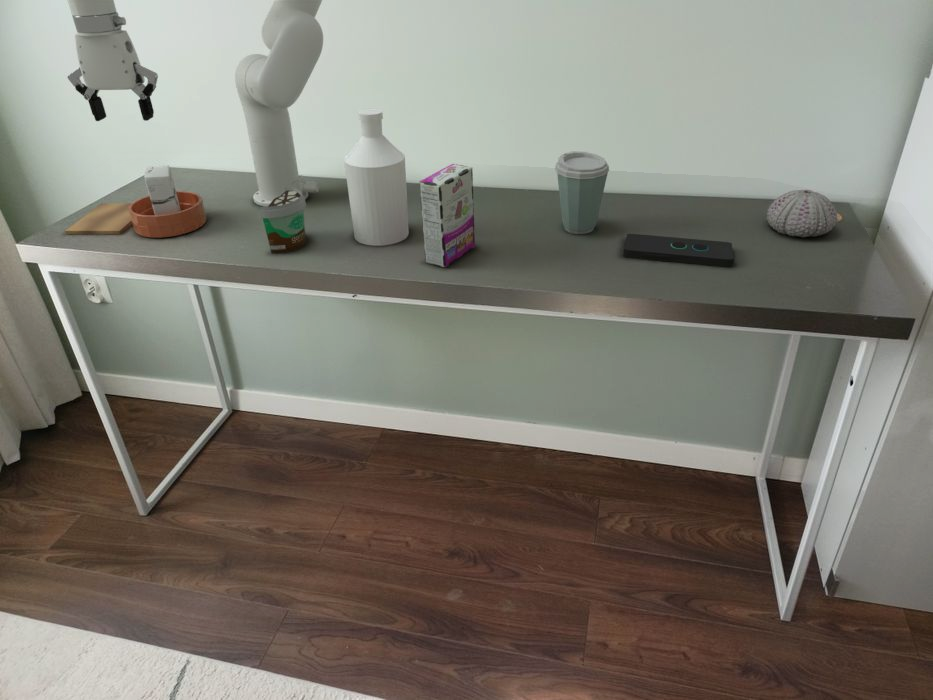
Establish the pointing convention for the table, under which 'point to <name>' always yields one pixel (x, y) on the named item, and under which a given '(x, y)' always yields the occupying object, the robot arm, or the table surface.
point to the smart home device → (678, 250)
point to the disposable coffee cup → (581, 189)
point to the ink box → (161, 190)
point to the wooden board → (103, 220)
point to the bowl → (168, 216)
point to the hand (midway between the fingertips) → (124, 119)
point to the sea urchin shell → (802, 214)
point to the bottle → (376, 185)
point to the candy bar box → (447, 214)
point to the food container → (285, 221)
